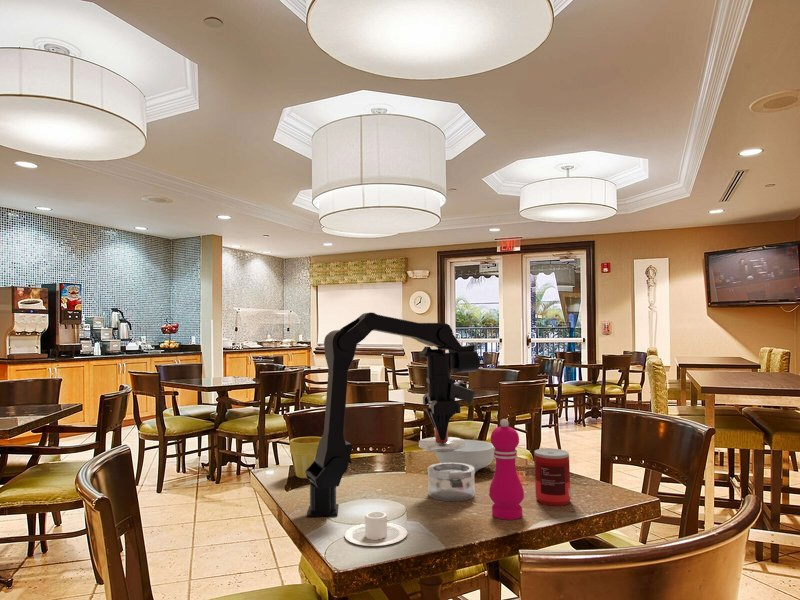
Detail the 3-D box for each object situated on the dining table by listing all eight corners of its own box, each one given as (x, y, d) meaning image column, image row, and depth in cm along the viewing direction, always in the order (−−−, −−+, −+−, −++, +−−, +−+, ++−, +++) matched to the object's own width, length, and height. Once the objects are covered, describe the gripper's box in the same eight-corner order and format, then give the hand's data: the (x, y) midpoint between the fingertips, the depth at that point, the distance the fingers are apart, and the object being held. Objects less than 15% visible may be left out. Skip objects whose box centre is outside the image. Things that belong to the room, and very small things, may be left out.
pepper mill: (499, 522, 108) (496, 422, 109) (484, 511, 115) (481, 417, 116) (531, 518, 110) (527, 420, 111) (514, 507, 117) (511, 415, 118)
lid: (469, 452, 124) (468, 425, 125) (422, 455, 123) (421, 427, 124) (460, 442, 135) (459, 417, 136) (416, 445, 134) (415, 420, 135)
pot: (482, 503, 120) (481, 475, 120) (433, 505, 119) (433, 477, 119) (467, 484, 136) (466, 459, 136) (424, 485, 135) (424, 461, 135)
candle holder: (338, 530, 106) (338, 508, 106) (396, 523, 110) (395, 501, 110) (352, 553, 94) (352, 529, 95) (416, 544, 98) (415, 520, 98)
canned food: (555, 494, 126) (554, 447, 127) (578, 503, 119) (576, 453, 120) (528, 498, 124) (527, 450, 124) (550, 508, 116) (548, 457, 117)
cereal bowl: (484, 480, 140) (484, 452, 140) (426, 474, 147) (426, 448, 147) (501, 465, 155) (501, 440, 155) (448, 460, 162) (447, 437, 163)
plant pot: (331, 470, 152) (331, 436, 153) (322, 480, 142) (322, 443, 142) (296, 470, 153) (295, 436, 154) (284, 480, 143) (284, 443, 143)
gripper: (480, 375, 122) (483, 444, 121) (463, 370, 140) (465, 430, 139) (432, 377, 121) (435, 447, 120) (421, 372, 139) (423, 432, 138)
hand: (441, 438), depth 129 cm, fingers closed on lid, 3 cm apart
